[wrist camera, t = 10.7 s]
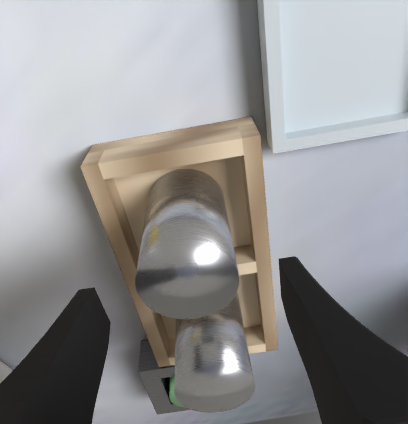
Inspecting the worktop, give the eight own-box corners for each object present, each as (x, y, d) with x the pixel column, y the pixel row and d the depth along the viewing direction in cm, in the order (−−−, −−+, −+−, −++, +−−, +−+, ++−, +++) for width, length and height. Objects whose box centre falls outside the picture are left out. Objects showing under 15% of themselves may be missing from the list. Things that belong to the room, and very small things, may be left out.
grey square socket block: (222, 328, 26) (225, 359, 24) (231, 372, 29) (235, 403, 27) (141, 340, 26) (138, 372, 24) (158, 383, 29) (157, 414, 27)
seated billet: (234, 272, 22) (250, 360, 17) (241, 316, 24) (257, 406, 19) (169, 282, 22) (166, 373, 17) (182, 325, 24) (183, 417, 19)
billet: (222, 165, 18) (238, 238, 13) (225, 230, 20) (240, 314, 15) (142, 172, 18) (126, 247, 13) (153, 236, 20) (143, 323, 15)
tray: (449, -75, 14) (474, -80, 13) (417, 116, 18) (434, 125, 17) (254, -37, 14) (261, -38, 13) (267, 142, 18) (273, 153, 17)
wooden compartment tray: (251, 116, 17) (260, 135, 15) (270, 319, 26) (278, 349, 23) (92, 144, 18) (80, 166, 16) (160, 335, 26) (158, 367, 24)
